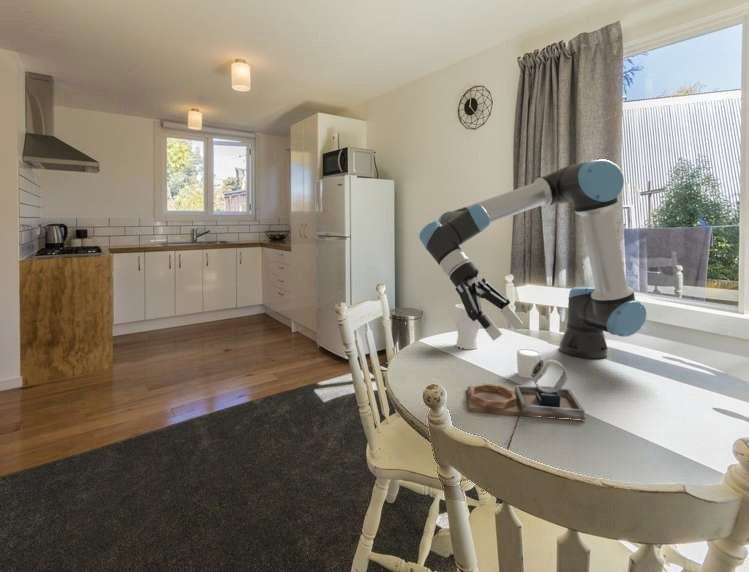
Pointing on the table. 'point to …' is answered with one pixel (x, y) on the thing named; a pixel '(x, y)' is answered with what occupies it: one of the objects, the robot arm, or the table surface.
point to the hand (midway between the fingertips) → (509, 332)
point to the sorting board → (521, 402)
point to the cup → (465, 328)
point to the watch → (548, 394)
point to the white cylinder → (527, 362)
